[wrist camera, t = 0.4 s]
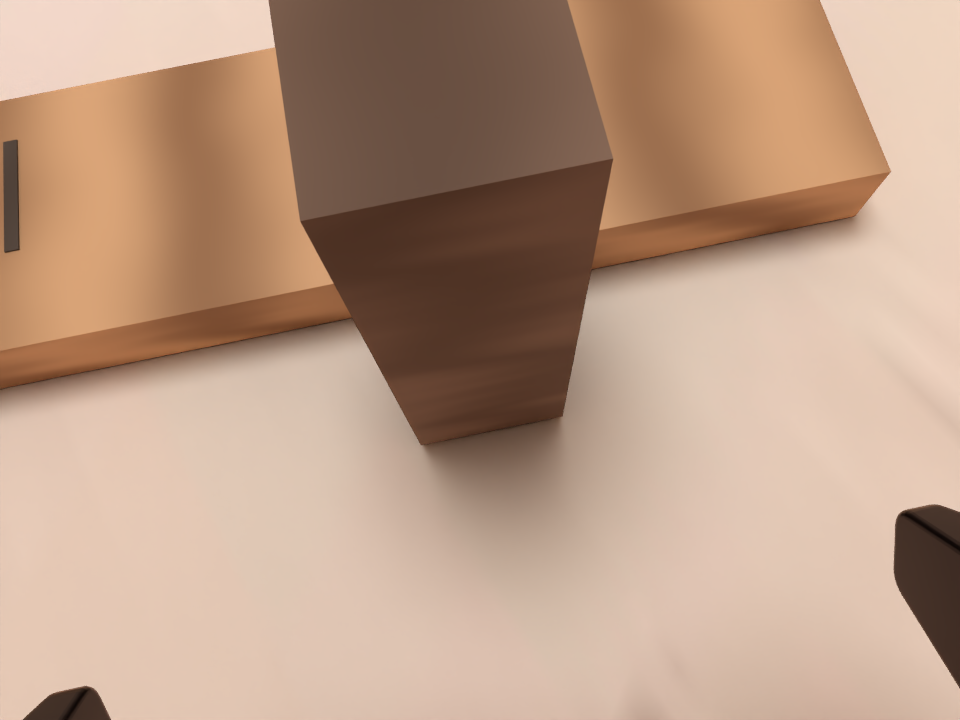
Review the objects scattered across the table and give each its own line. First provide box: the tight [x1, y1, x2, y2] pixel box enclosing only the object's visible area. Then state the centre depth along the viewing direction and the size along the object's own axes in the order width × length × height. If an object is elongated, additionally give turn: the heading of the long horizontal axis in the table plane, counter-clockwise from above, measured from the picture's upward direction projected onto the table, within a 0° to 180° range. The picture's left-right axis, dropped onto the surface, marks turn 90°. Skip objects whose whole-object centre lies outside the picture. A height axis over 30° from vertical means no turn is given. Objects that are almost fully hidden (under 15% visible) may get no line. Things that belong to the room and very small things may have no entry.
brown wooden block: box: [269, 0, 613, 445], centre depth 18 cm, size 4×12×13 cm, turn 11°
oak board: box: [0, 0, 891, 389], centre depth 24 cm, size 36×8×3 cm, turn 101°
